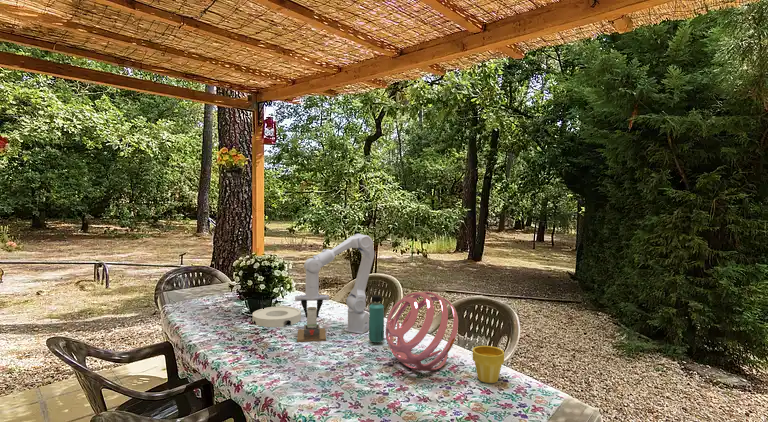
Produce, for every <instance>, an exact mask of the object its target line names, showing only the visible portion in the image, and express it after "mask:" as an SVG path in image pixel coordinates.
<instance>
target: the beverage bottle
mask: <svg viewBox="0 0 768 422" xmlns="http://www.w3.org/2000/svg"><path fill="white" fill-rule="evenodd" d="M371 302H372V303H371V304H369V306H368V310H369V311H368V312H369V313H368V314H369V330H368V339H369V341H370V342H372V343H380V342H383V341H384V339H385V314H384V313H385V306H384V305H383V304H382V303H380V302H382V295H377V294H376V295H375V294H374V295H372V296H371Z"/></svg>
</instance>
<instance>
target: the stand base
mask: <svg viewBox="0 0 768 422" xmlns="http://www.w3.org/2000/svg"><path fill="white" fill-rule="evenodd" d="M296 338H297V339H296V340H297V341H296V342H297V343H306V342H307V343H308V342H310V343H311V342H325V341H327V332H326V328H323V327H322V328H320V324H318V323H317V328H307V324H303V328H301V329H300V328H299V329H298V330H297V337H296Z"/></svg>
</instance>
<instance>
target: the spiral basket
mask: <svg viewBox="0 0 768 422" xmlns="http://www.w3.org/2000/svg"><path fill="white" fill-rule="evenodd" d="M420 297H421V298H423V300H420V301H419V302H418V301H417V299H419V298H420ZM437 301H438V302H439V304H440V308H441V319H440V323H439V327H438V330H437V332H436V333H435V336H434V337H433V339H432V341H430V343H429V344H428V345H427V346H426V348H425V349H424V350H423V351H421V352H420V353H419V354H416V353H415V354H413V353H412V350H413V349H414V348H416V347H417V346H418V345H419V344H420V343H422V341H423V340H424V338H425V337H426V336H427V334H428V333H429V331H430V329H431V326H432V323H433V321H434V316H435V305H434V302H437ZM402 303H403V304H402ZM401 304H402V305H401ZM447 304H448V306H449V307H450V309H451V311H452V317H453V323H452V328H451V333H450V337H449V338H448V340H447V343H446V344H445V347H444V348H443V349H439V350H436V349H437V347H438V346H439V344H440V343H441V342H442V340H443V338H444V336H445V333H446V330H447V327H448V322H449V321H448V320H449V311H448V306H447ZM409 306H410V310H409V312H408V313H407V314H406V316H405V318H404V320H403V321H402V323H401V325H400V322H399V319H400V318H401V315H402V314H403V313H404V311H405V310H406V309H407V308H408V307H409ZM424 306H426V314H425V318H424V320H423V324H422V325H421V327H420V328H419V331H418V332H417V333H416V334H415V335H414V337H413V338H412V339H411V340H408V341H407V342H406V341H405V339H404V336H405V334H407V333H408V332H409V331H410V330H411V328H413V326H414V324H415V322H416V320H417V319H418V316H419V310H420V309H422V308H423V307H424ZM399 307H400V308H399ZM398 308H399V309H398ZM397 309H398V310H397ZM396 311H397V312H396ZM395 312H396V314H395ZM394 314H395V315H394ZM393 315H394V318H393ZM458 329H459V317H458V313H457V310H456V308H455V306H454V305H453V304H452V303H451V301H450V300H448V299H447V298H445V297H443V296H441V295H439V294H438V293H436V292H432V291H415V292H411V293H408V294H406V295H405V296H403V297H402V298H401V299H399V300H398V301H397V302H396V303H395V304H394V305H393V306H392V308H391V309H390V311H389V313H388V316H387V320H386V326H385V340H386V342H387V345H388V348H389V350H390V351H391V354H392V355H393V356H394V358H395V359H396V360H397V361H398V362H400V363H402V364H403V365H404V366H405V367H407V368H409V369H411V370H413V371H419V372H420V371H421V372H422V371H423V372H433V371H434V372H435V371H438V370H440V369H442V367H444V366H445V364H446V362H447V360H448V356H449V352H450V350H451V349H452V347H453V346H454V343H455V341H456V337H457V335H458ZM394 338H397V340H396V344H394ZM435 350H436V351H435ZM437 354H438V355H437ZM436 355H437V356H436ZM433 356H436V357H435V358H434V359H433V360H432V361H430V362H429V363H425V364H424V363H422V361H424V360H425V359H427V358H431V357H433ZM439 363H440V364H439ZM438 364H439V365H438ZM412 365H413V366H412ZM436 365H437V366H436ZM435 366H436V367H435Z"/></svg>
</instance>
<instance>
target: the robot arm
mask: <svg viewBox="0 0 768 422" xmlns="http://www.w3.org/2000/svg"><path fill="white" fill-rule="evenodd" d="M349 249H358V250H359V252H360V254H361V255H362V256H361V261H360V263H359V264H360V265H359V266H358V270H357V275H356V278H355V280H354V281H355V282H354V285H353V288H352V289H351V290H350V292H349V295H348V296H347V297H346V299H345V304H346V306H347V307H348V308H347V327H346V328H345V329H344V330H343V331H344V332H349V333H356V334H360V335H363V334H364V333H366V332H369V313H368V312H366V311H365V309H366V304H367V303H366V299H367V295H366V288H367V284H368V281H369V277H370V274H371V270H372V267H373V262H374V259H375V250H374V249H375V248H374V241H373V239H372V238H371V237H370V235H366V234H362V233H355V234H354V235H351V236H349V237H348V238H347V239H345V240H343V241H342V242H341V243H339V244H338V245H336V246H335V247H333V248H331V249H329V248H327V249H325V248H323V249H322V250H321V252H320V253H317V254H316V255H315V254H314V255H312V257H310V258H309V257H308V258H307V259H306V260H305V262H304V264H303V268H304V269H305V294H303V295H296V296H294V302H300V304H301V306H302V309H303V311H304V315H305V316H304V317H305V318H306V319H307V308H308V302H309V301H316V308H317V318H319V315H320V310H321V308H322V306H323V302H324V301H329V300H330V296H329V294H319V291H320V287H319V285H320V282H319V281H320V277H319V276H320V274H319V273H320V270H321V268H323V267H325V266H326V265H328V264H330V263H331V262H333V261H334V260H335V257H336V256H337V255H339V254H341V253H343V252H346V251H348V250H349Z"/></svg>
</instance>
